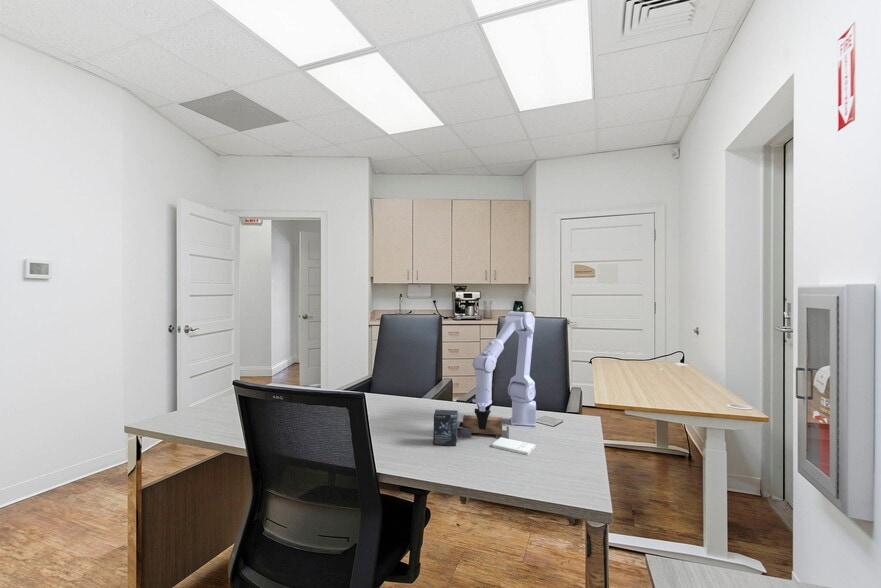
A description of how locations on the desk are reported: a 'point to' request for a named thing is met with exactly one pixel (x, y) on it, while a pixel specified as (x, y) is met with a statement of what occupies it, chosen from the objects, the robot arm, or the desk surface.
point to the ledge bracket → (504, 434)
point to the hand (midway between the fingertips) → (483, 425)
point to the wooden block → (491, 427)
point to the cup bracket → (463, 430)
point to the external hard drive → (513, 445)
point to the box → (445, 427)
